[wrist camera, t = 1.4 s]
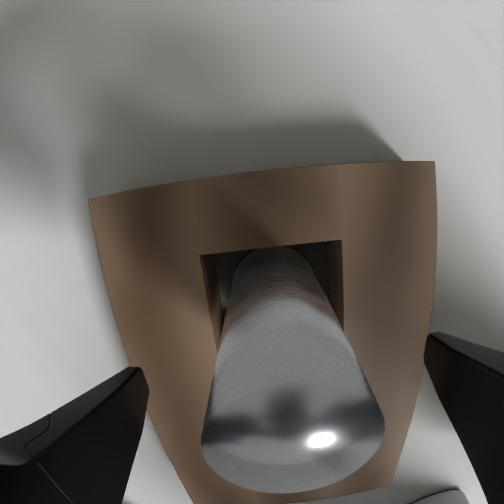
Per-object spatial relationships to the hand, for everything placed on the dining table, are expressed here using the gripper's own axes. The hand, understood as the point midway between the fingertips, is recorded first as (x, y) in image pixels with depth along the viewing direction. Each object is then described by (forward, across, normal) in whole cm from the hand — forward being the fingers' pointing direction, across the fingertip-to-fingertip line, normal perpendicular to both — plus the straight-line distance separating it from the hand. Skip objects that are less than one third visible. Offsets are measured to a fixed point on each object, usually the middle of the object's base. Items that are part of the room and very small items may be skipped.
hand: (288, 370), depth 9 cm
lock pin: (+7, 0, 0) cm, 7 cm away
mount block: (+7, 0, +5) cm, 8 cm away
